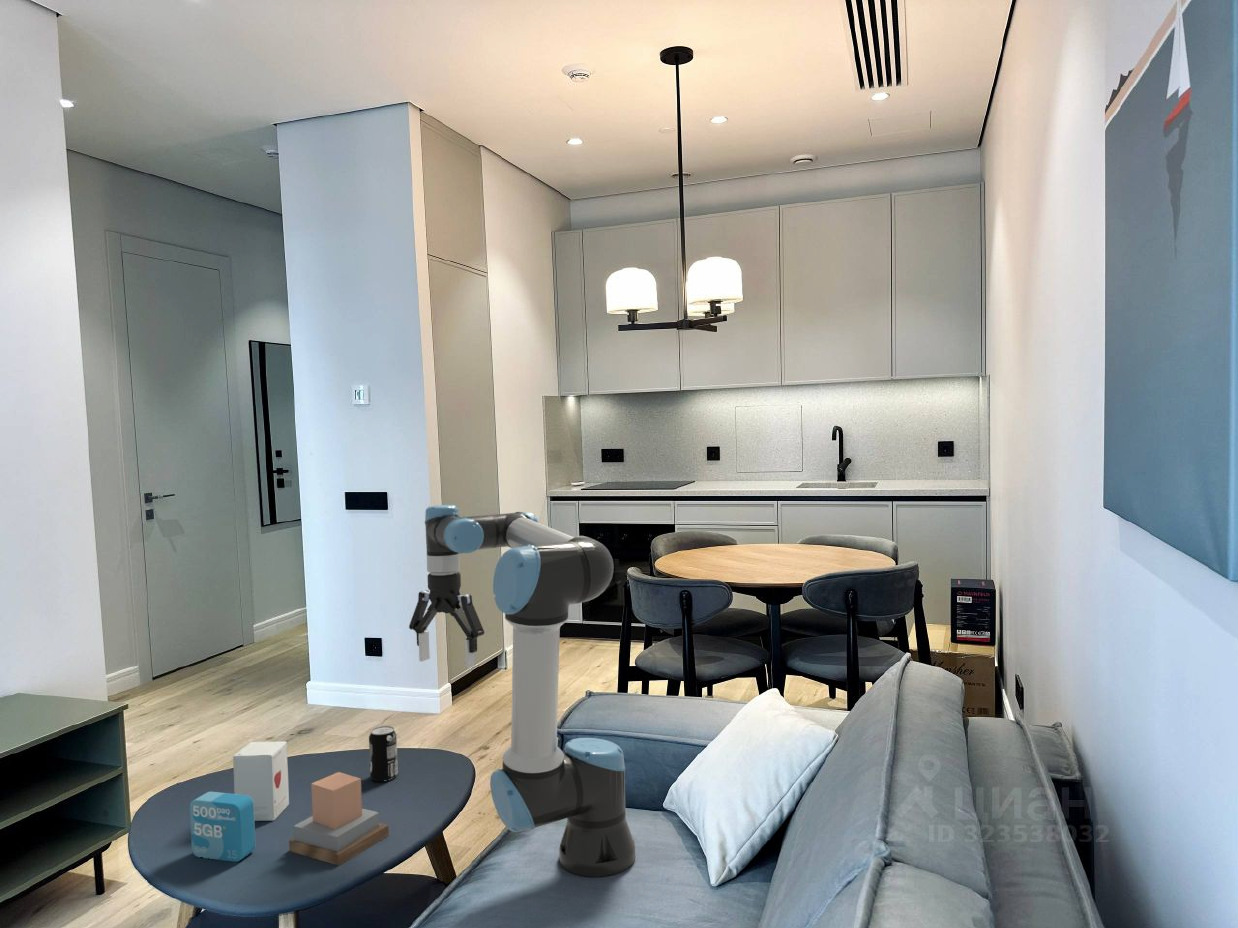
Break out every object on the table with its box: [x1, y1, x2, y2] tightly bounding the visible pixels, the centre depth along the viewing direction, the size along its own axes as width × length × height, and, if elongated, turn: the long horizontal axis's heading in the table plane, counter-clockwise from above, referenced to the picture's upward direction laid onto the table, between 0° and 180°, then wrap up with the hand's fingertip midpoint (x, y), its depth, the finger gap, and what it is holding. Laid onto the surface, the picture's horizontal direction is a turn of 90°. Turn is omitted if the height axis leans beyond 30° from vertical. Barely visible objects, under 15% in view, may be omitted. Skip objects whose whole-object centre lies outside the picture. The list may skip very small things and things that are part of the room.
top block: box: [293, 808, 380, 852], centre depth 183 cm, size 12×12×3 cm
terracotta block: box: [311, 771, 363, 829], centre depth 183 cm, size 7×7×8 cm
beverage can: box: [368, 725, 399, 782], centre depth 217 cm, size 7×7×12 cm
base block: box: [288, 822, 390, 867], centre depth 183 cm, size 14×14×3 cm
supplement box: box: [232, 741, 290, 822], centre depth 199 cm, size 9×9×15 cm
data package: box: [189, 791, 256, 863], centre depth 179 cm, size 12×4×12 cm, turn 75°
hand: (447, 663), depth 203 cm, fingers open, 13 cm apart
